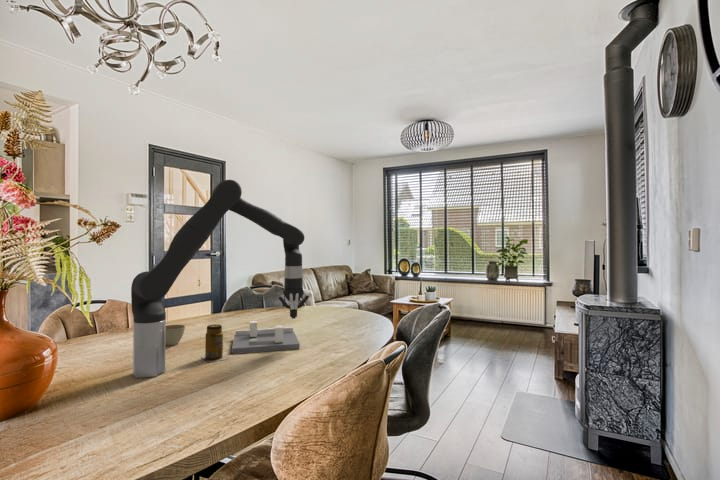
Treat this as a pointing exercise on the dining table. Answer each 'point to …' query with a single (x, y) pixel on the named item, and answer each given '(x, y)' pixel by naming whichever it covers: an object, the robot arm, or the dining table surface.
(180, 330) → the flower pot
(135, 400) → the dining table surface
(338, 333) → the dining table surface
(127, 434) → the dining table surface
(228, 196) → the robot arm
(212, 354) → the condiment
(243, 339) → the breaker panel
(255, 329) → the breaker
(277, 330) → the block
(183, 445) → the dining table surface
